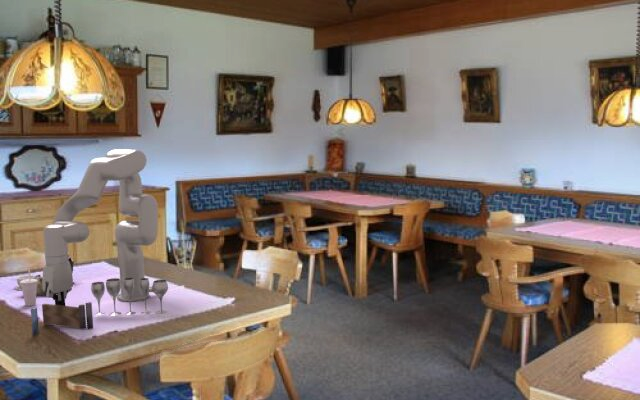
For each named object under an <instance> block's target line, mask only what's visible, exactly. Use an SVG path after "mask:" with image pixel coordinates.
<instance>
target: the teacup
mask: <svg viewBox="0 0 640 400" xmlns="http://www.w3.org/2000/svg"><path fill="white" fill-rule="evenodd" d="M35 276H36V275H33V274H30V277H31V279H33V278H34V277H35ZM21 279H23V280H26V279H29V274H27V275H21V276H18V277H16V282H17V285H16V286H13V289H14V290H18V291H22V287H21V285H20V281H21Z"/></svg>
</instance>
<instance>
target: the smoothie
mask: <svg viewBox="0 0 640 400" xmlns="http://www.w3.org/2000/svg"><path fill="white" fill-rule="evenodd" d="M27 271H28V275H29V279H26V280H22V281H20V285H21V287H22V290H21V291H22V295H23V299H24V305H25V307H33V306H36V305H37V294H36V291H37V283H38V280H37V279H31V277H30V275H31V270H30V269H28V270H27ZM35 304H36V305H35Z"/></svg>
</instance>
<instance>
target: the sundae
mask: <svg viewBox="0 0 640 400" xmlns="http://www.w3.org/2000/svg"><path fill="white" fill-rule="evenodd" d="M68 261H69V262H70V265H71V270H72V274H73V271H74V263H75V259H72V258H71V256H70V255H69V257H68ZM73 285H75V281H73Z"/></svg>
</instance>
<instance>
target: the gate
mask: <svg viewBox="0 0 640 400" xmlns="http://www.w3.org/2000/svg"><path fill="white" fill-rule="evenodd" d="M41 309H42V310H41V312H42V323H43V325H50V326H51V325H52V326H60V327H67V328H68V327H69V328H76V329H81V330H83V329H87V319H86V304H79V305H78V306H70V305H65V306H63V305H55V304H53V303H51V304H50V303H42V304H41Z"/></svg>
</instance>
